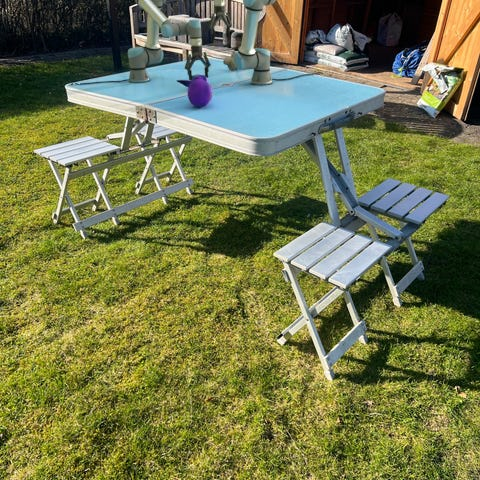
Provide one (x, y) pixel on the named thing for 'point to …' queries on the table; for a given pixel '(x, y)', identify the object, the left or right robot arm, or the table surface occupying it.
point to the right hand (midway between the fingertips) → (220, 37)
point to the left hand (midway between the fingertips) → (198, 78)
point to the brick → (194, 77)
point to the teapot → (230, 62)
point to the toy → (198, 91)
